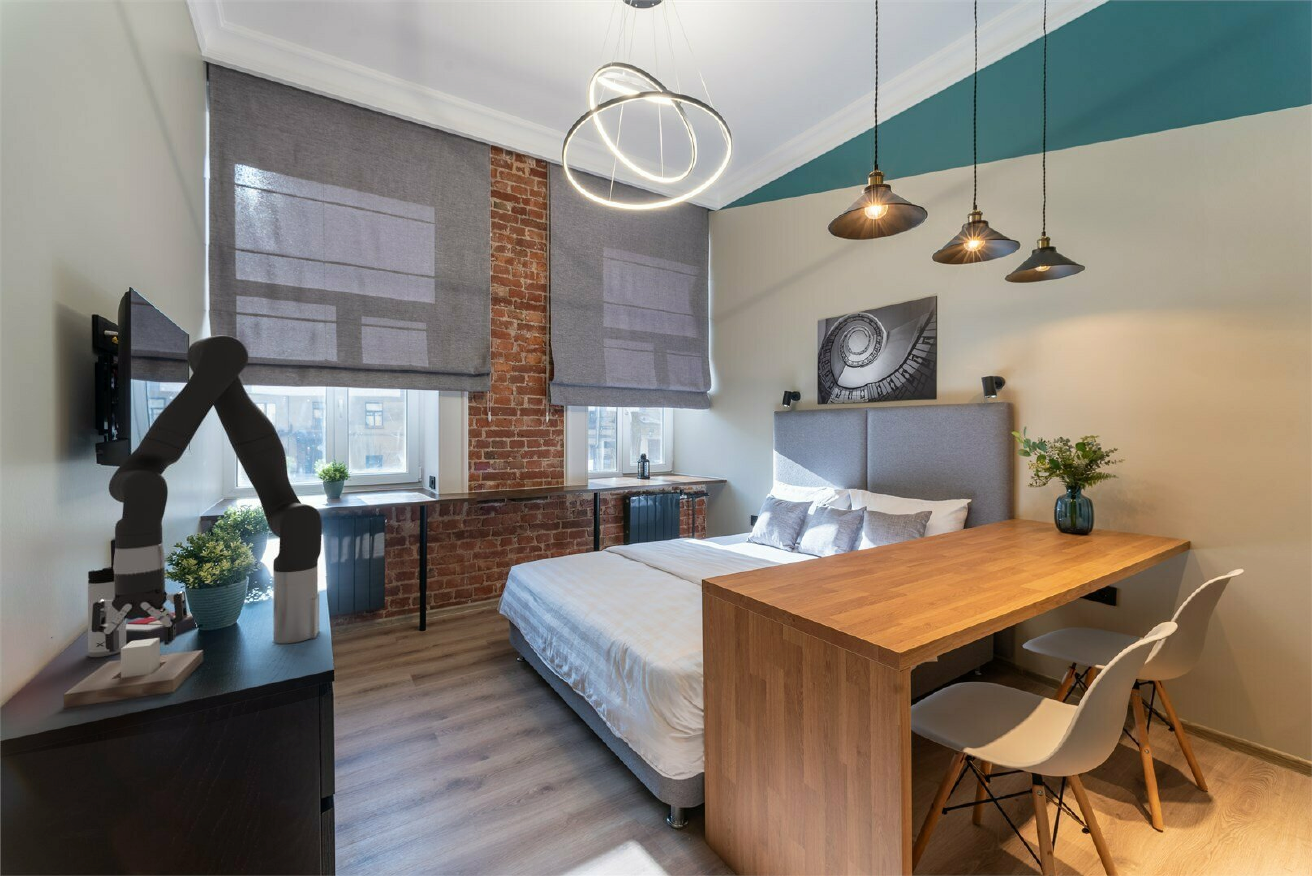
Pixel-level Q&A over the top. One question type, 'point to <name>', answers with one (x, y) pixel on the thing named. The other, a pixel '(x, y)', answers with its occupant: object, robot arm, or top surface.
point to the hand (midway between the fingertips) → (141, 647)
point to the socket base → (133, 680)
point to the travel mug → (104, 589)
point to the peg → (140, 657)
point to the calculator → (155, 628)
